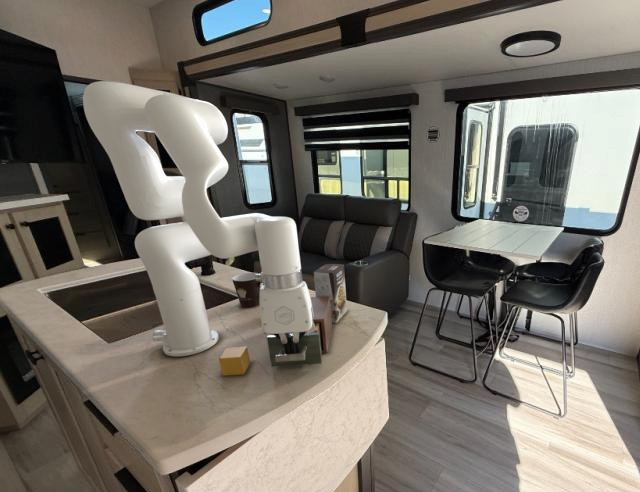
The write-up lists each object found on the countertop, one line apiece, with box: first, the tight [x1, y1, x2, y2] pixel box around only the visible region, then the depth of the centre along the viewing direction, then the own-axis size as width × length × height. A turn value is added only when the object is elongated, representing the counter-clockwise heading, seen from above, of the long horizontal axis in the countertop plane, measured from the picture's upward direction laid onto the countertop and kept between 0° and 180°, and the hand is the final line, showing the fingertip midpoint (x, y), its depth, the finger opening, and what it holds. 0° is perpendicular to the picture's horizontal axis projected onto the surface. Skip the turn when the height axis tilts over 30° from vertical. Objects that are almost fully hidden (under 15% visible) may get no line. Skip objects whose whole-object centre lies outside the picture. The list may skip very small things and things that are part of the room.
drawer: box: [266, 322, 323, 368], centre depth 77 cm, size 18×11×8 cm, turn 6°
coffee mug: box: [231, 272, 263, 309], centre depth 107 cm, size 12×9×10 cm
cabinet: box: [310, 296, 333, 354], centre depth 85 cm, size 15×13×10 cm
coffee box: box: [313, 263, 348, 324], centre depth 98 cm, size 9×6×16 cm
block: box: [218, 346, 251, 376], centre depth 74 cm, size 5×5×5 cm
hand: (293, 355), depth 71 cm, fingers closed
